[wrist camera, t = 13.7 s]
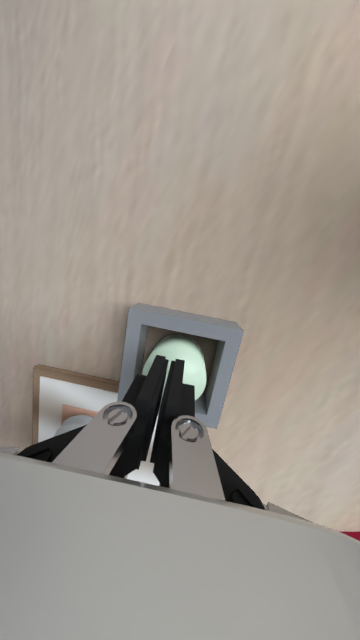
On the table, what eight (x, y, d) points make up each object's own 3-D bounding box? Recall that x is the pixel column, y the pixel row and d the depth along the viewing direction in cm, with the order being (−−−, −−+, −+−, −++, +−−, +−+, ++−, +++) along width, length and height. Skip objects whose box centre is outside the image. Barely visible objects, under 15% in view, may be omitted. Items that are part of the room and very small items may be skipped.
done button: (156, 329, 15) (147, 341, 12) (209, 340, 15) (213, 355, 12) (148, 378, 16) (138, 399, 13) (198, 388, 16) (198, 412, 13)
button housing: (139, 303, 16) (129, 307, 13) (236, 322, 15) (243, 330, 13) (127, 388, 17) (116, 406, 15) (213, 407, 17) (216, 428, 15)
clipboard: (38, 364, 18) (23, 372, 16) (198, 399, 17) (198, 411, 15) (36, 459, 20) (23, 474, 18) (176, 492, 19) (174, 511, 18)
